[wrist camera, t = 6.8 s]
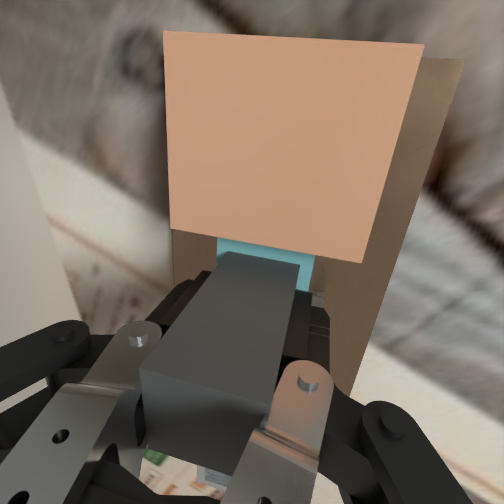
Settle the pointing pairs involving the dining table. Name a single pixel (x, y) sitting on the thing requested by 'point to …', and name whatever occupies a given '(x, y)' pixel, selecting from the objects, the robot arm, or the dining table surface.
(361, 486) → the robot arm
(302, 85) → the tan hollow block
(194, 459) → the slide bar
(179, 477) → the dining table surface
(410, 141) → the channel
